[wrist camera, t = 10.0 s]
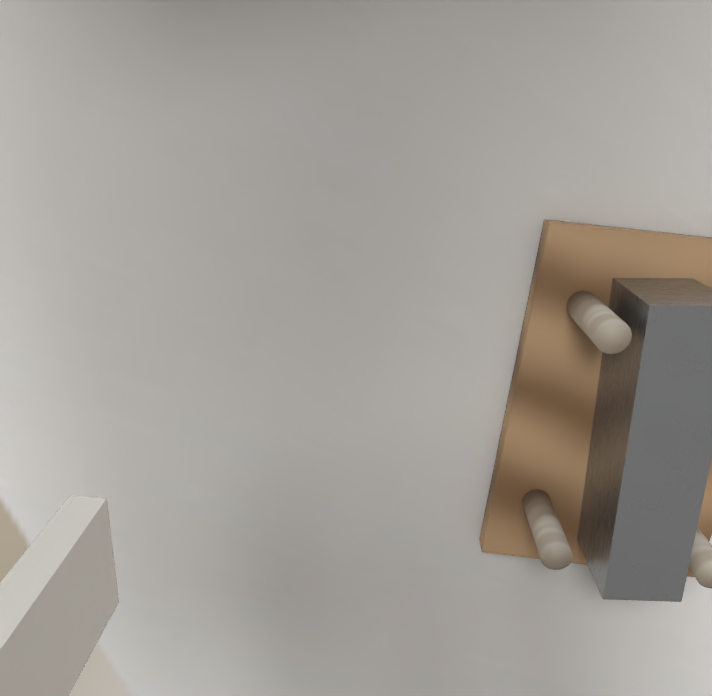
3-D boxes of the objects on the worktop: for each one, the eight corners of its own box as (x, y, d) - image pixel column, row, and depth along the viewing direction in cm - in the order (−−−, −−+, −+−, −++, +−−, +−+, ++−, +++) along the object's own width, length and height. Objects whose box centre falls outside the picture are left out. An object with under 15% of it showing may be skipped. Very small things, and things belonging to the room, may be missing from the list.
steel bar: (612, 277, 32) (649, 305, 28) (692, 278, 32) (744, 306, 27) (576, 539, 38) (602, 599, 33) (645, 541, 38) (681, 601, 33)
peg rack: (544, 219, 33) (576, 242, 27) (797, 247, 32) (885, 276, 27) (479, 539, 40) (494, 612, 34) (687, 564, 39) (738, 641, 34)
